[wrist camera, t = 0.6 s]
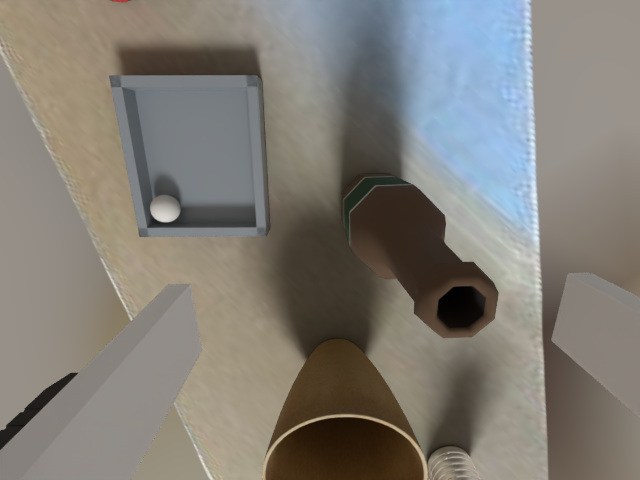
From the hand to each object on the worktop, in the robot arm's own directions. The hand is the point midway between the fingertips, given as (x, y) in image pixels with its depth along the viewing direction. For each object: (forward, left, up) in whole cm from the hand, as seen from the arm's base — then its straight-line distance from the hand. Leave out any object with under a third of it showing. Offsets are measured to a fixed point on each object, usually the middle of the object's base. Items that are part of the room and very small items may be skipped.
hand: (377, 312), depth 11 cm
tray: (-4, -15, -26) cm, 30 cm away
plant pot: (+23, 0, -26) cm, 35 cm away
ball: (+1, -19, -25) cm, 32 cm away
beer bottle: (+1, +4, -26) cm, 27 cm away
